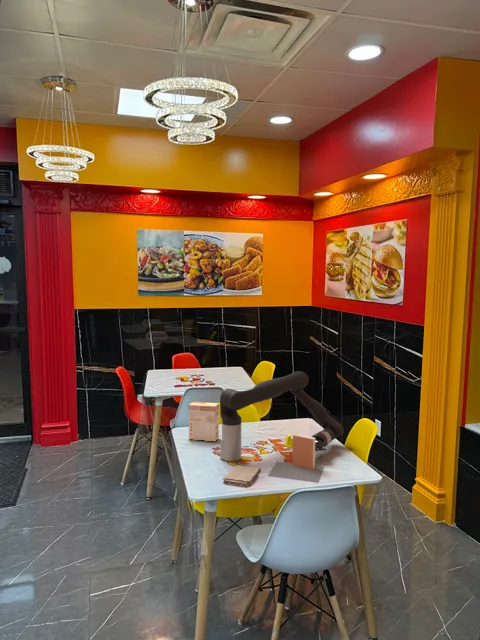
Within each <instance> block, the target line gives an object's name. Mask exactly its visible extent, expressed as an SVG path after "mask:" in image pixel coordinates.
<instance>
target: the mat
mask: <svg viewBox="0 0 480 640" xmlns="http://www.w3.org/2000/svg"><path fill="white" fill-rule="evenodd" d="M324 469H325V467H324V466H319V465H318V466H316V465H315V468H314V469H313V470H311V469H306V468H302V467H298V466H294V465H292V462H284V461H276V462H275V463H274V465H273V467H272V468H271V470H270V471H269V473H268V474H267V477H273V478H280V479H285V480H286V479H288V480H295V481H302V482H311V483H317V484H318V483H319V482H320V480H321V477H322V474H323V471H324Z"/></svg>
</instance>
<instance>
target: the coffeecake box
mask: <svg viewBox="0 0 480 640" xmlns="http://www.w3.org/2000/svg"><path fill="white" fill-rule="evenodd" d="M219 425H220V402H219V403H218V402H203V401H202V402H201V401H192V402H191V403H189V404H188V440H189V439H194V440H193V441H196V440H206V441H205V442H207V441H214V442H213V443H216V442H217V441H218V440H219V439H220V436H219V435H220V434H219V433H220V431H219V429H220V428H219V427H220V426H219ZM218 438H219V439H218ZM217 439H218V440H217ZM216 440H217V441H216ZM215 441H216V442H215Z"/></svg>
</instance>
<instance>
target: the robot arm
mask: <svg viewBox="0 0 480 640" xmlns="http://www.w3.org/2000/svg"><path fill="white" fill-rule="evenodd" d="M309 381H310V380H309V376H308V374H307V373H306V372H304V371H301V370H300V371H299V370H298V371H294V372H292V373H290V374H288V375H285V376H281V377H277V378H270V379H267V380H264V381H259V382H258V383H257V384H255V385H254V387H252V388H251V389H247V390H236V389H233V388H225V389H224V390H223V391H222V392H221V394H220V398H219V416H220V419H221V438H220V457H219V458H220V460H224V461H226V462H236V461H237V462H238V461H240V460H241V459H242V417H241V415H240V414H239V413H238V411H239V410H242V409H245V408H247V407H248V406H251V405H253V404H256V403H260V402H263V401H267V400H268V401H269V400H271V399H273V398H277V397H278V396H281V395H282V394H284V393H287V392H288V391H290V393H291V394H293V395H294V397H295V398H297V400H298V401H299V402H300V403H301V404H302V405H303V406H304V407H305V408H306V409H307V410H308V411H309V412H310V414H311V415H312V416H313V418H314V419H315V421H316V422H317V424H319V425H320V426H321V425H325V424H327V425H328V426H326V427H325V428H324V429H321V430H320V431H318V432H316V433H315V434H312V436H311V437H314V438H315V452H320V451H327V446H328V445H329V444H330V443H332V441H333V440H335V439H337V438H338V437H341V436H342V435H343V434H344V427H343V426H342V424H341V423H340V422H338V421H337V420H336V419H335V418H333V417H332V415H330V414H329V413H328V411H327V410H326V409H325V407H324V406H323V405H322V404H321V403H320V402H319V401H317V400H315V399H314V398H312V397H311V396H310V395H308V394H307V393H306V392H305V390H304V388H306V386H307V385H308V384H309Z"/></svg>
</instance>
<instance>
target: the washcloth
mask: <svg viewBox="0 0 480 640" xmlns="http://www.w3.org/2000/svg"><path fill="white" fill-rule="evenodd" d="M261 470H262V469H261V467H255V466H245V465H235V466H234V467H233V468H232V469H231V470H230V471H229V472H228V473H227V474H226V475H225V476H224V477H223V478H222V480H223V484H226V483H230V484H236V485H235V486H237V485H242V486H241V487H243V486H247V487H249V486H250V485H251V484H250V483H251V482H252V483H253V482H255V480H256V479H257V477H258V476H259V475H258V473H259V472H260V471H261ZM230 484H229V485H230ZM249 484H250V485H249ZM248 485H249V486H248Z"/></svg>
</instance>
